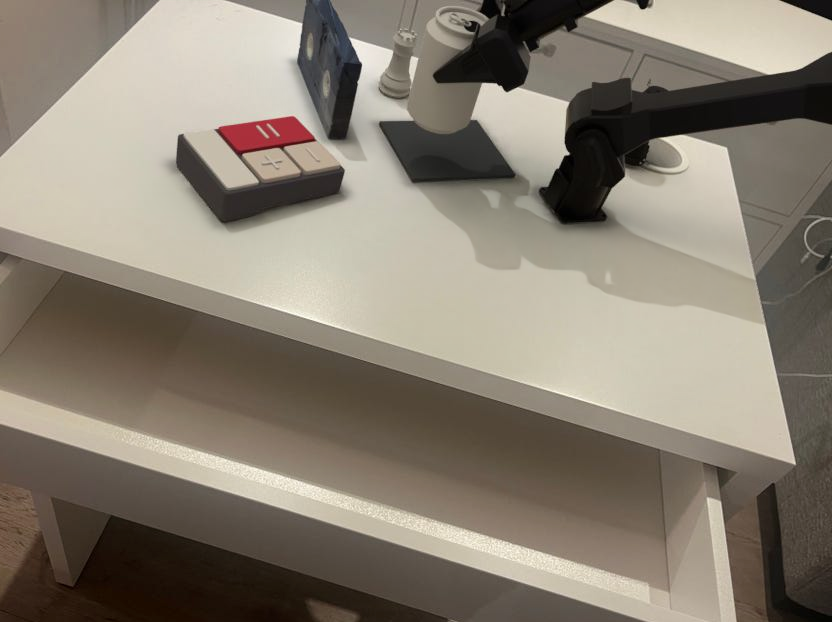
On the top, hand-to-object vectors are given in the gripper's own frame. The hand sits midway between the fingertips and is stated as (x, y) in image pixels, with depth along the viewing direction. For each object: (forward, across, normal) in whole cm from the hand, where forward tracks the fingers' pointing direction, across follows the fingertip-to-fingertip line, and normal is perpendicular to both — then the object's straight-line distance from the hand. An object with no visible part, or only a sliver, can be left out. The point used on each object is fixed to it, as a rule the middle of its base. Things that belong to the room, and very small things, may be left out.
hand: (439, 62), depth 84 cm
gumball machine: (-10, -15, +29) cm, 34 cm away
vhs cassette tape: (+19, -8, -1) cm, 20 cm away
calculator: (+20, +12, -2) cm, 24 cm away
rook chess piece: (+13, -15, +5) cm, 20 cm away
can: (+4, 0, +6) cm, 7 cm away
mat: (+6, -4, +11) cm, 14 cm away
